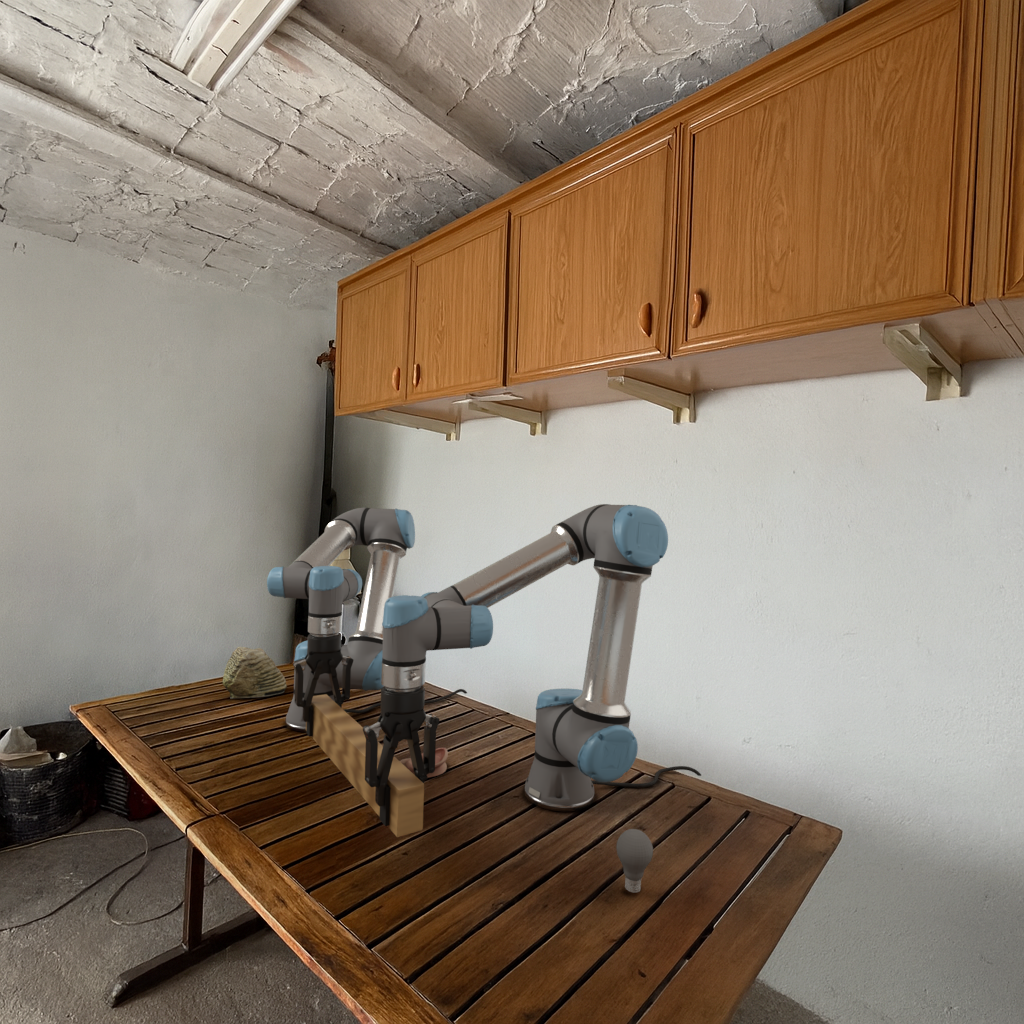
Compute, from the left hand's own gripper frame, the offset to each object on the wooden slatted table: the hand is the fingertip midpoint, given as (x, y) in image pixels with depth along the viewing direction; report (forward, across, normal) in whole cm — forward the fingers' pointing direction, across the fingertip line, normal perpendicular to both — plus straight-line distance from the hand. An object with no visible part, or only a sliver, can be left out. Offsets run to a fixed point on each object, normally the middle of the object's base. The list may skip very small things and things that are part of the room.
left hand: (321, 732), depth 148 cm
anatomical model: (+9, +20, -11) cm, 24 cm away
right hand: (0, +1, -45) cm, 45 cm away
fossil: (+9, -4, +62) cm, 62 cm away
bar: (+1, +1, -22) cm, 22 cm away
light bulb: (+8, +33, -70) cm, 78 cm away
